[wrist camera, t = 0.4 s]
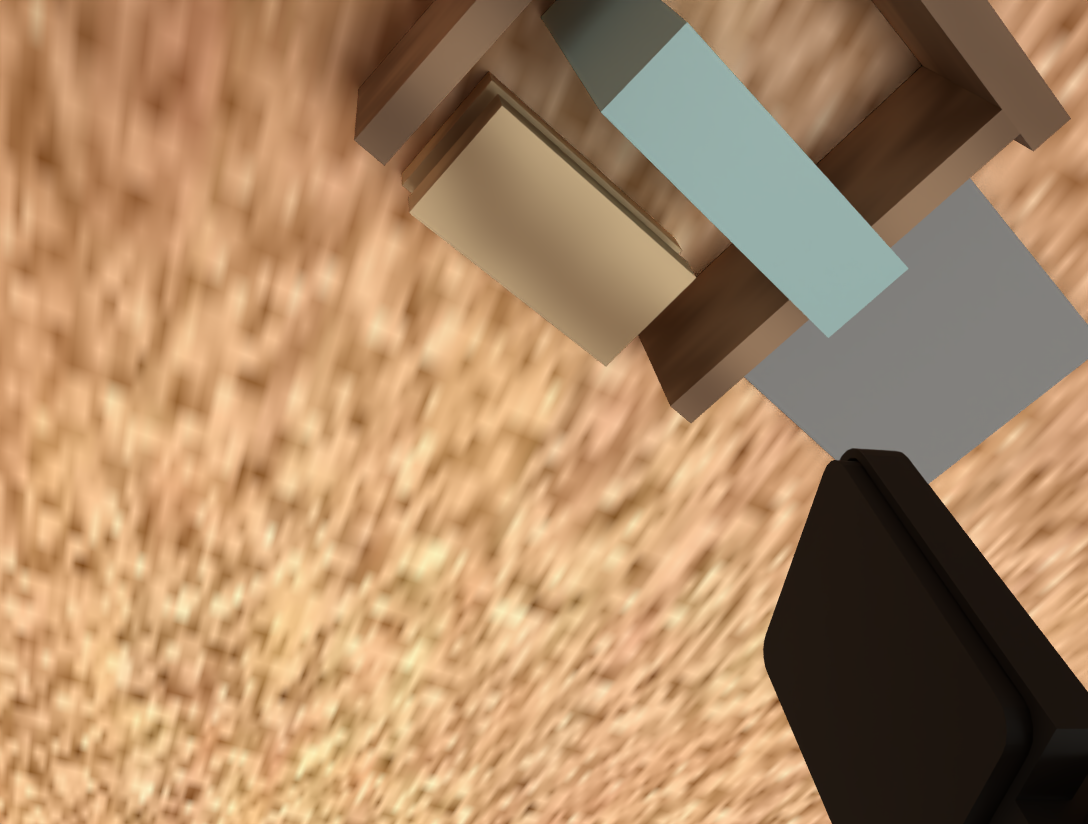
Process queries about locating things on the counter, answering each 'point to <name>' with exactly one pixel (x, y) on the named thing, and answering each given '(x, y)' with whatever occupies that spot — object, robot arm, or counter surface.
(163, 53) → the counter surface
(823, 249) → the pale teal block
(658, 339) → the frame
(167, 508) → the counter surface
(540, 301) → the offcut stack
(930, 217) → the slate mat
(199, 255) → the counter surface
